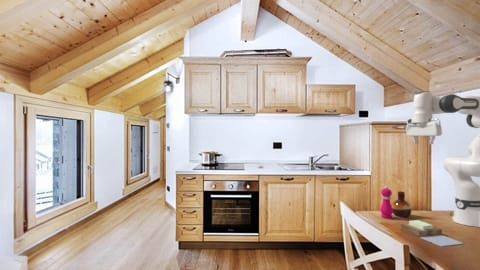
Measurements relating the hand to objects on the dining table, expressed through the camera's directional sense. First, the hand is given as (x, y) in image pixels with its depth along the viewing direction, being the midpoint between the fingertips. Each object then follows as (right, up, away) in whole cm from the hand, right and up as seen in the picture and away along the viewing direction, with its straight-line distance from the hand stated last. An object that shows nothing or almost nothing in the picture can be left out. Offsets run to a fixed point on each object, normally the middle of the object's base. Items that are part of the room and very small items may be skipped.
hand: (423, 144), depth 154 cm
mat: (-5, -47, -20) cm, 52 cm away
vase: (+1, -48, +22) cm, 52 cm away
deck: (-7, -47, -8) cm, 48 cm away
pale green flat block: (-7, -44, -8) cm, 46 cm away
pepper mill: (-11, -48, +19) cm, 52 cm away
